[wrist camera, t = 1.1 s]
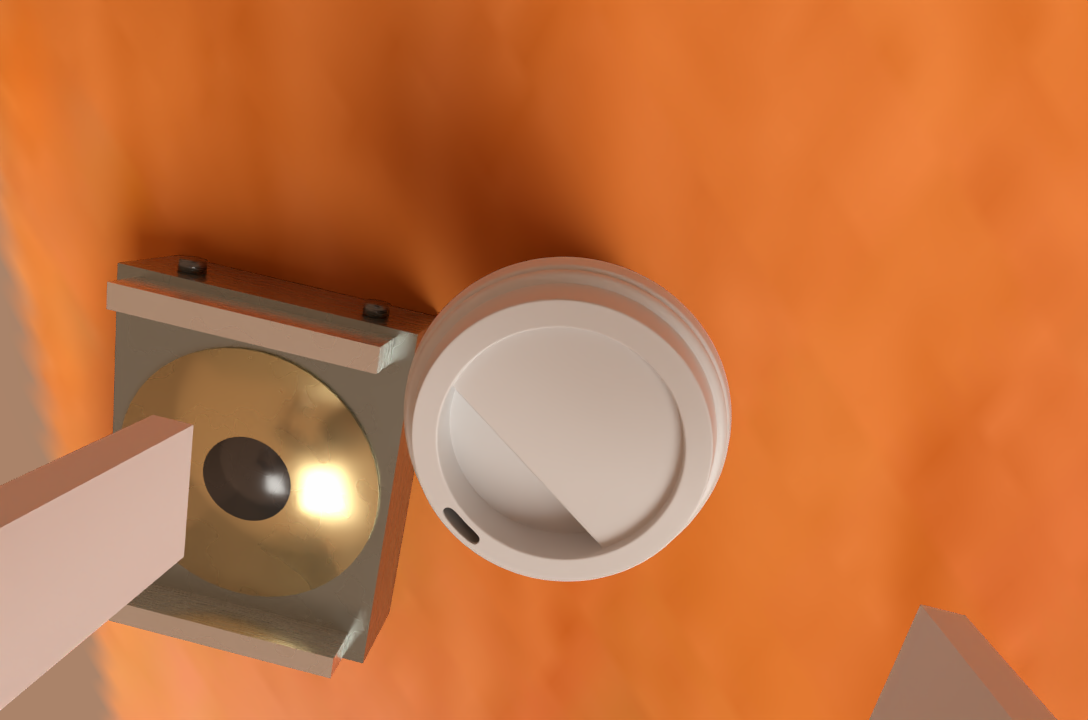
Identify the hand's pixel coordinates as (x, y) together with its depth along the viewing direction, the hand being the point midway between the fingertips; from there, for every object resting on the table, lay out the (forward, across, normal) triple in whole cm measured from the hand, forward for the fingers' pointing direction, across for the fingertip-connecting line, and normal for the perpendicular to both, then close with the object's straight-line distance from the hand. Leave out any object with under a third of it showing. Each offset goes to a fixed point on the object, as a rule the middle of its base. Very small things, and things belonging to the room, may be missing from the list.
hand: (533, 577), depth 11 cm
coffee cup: (+20, 0, 0) cm, 21 cm away
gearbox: (+20, -14, -10) cm, 27 cm away
